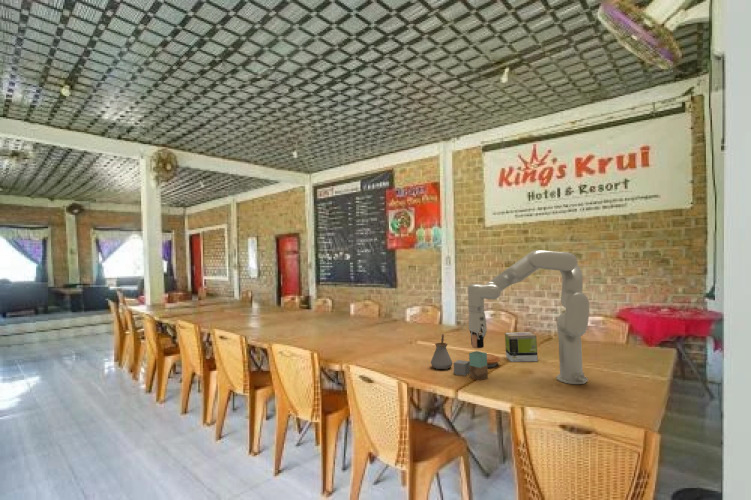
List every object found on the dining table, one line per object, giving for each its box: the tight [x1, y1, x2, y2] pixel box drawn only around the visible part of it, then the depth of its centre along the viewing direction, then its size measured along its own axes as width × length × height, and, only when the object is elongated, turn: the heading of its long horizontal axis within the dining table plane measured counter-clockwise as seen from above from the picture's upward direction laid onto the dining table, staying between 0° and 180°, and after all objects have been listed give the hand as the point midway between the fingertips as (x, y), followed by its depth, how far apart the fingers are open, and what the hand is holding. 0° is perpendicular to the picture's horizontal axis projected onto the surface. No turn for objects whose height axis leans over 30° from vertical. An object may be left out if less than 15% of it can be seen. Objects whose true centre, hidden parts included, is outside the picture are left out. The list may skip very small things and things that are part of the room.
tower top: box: [468, 350, 488, 368], centre depth 185 cm, size 6×6×6 cm
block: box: [453, 359, 470, 377], centre depth 191 cm, size 6×6×6 cm
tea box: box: [504, 331, 539, 363], centre depth 214 cm, size 15×10×15 cm
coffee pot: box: [430, 334, 453, 370], centre depth 207 cm, size 21×12×15 cm, turn 165°
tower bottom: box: [469, 366, 489, 381], centre depth 185 cm, size 6×6×6 cm
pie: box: [487, 353, 501, 369], centre depth 206 cm, size 16×16×5 cm
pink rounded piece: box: [471, 334, 481, 349], centre depth 185 cm, size 5×5×6 cm
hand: (477, 345), depth 185 cm, fingers closed on pink rounded piece, 5 cm apart
